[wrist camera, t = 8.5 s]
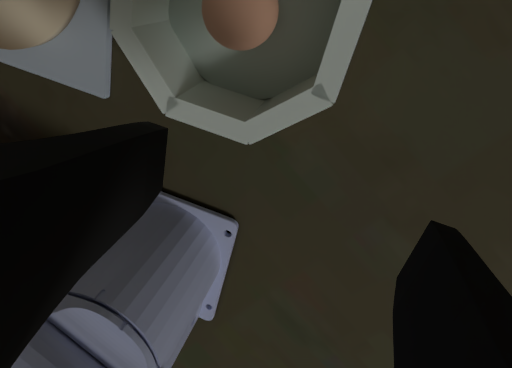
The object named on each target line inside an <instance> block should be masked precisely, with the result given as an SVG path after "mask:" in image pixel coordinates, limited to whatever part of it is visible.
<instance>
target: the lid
mask: <svg viewBox="0 0 512 368" xmlns="http://www.w3.org/2000/svg"><path fill="white" fill-rule="evenodd" d="M79 3H80V0H0V49H7V50H17V49H25V48H30V47H34V46H38V45H42V44H44V43H46V42H49V41H51V40H52V39H54V38H55V37H56V36H58V35H59V34H60V33H61V32H62V31H63V30H64V29H65V28H66V27H67V26H68V24H69V23H70V21H71V20H72V18H73V17H74V15H75V12H76V10H77V8H78V6H79Z"/></svg>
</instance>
